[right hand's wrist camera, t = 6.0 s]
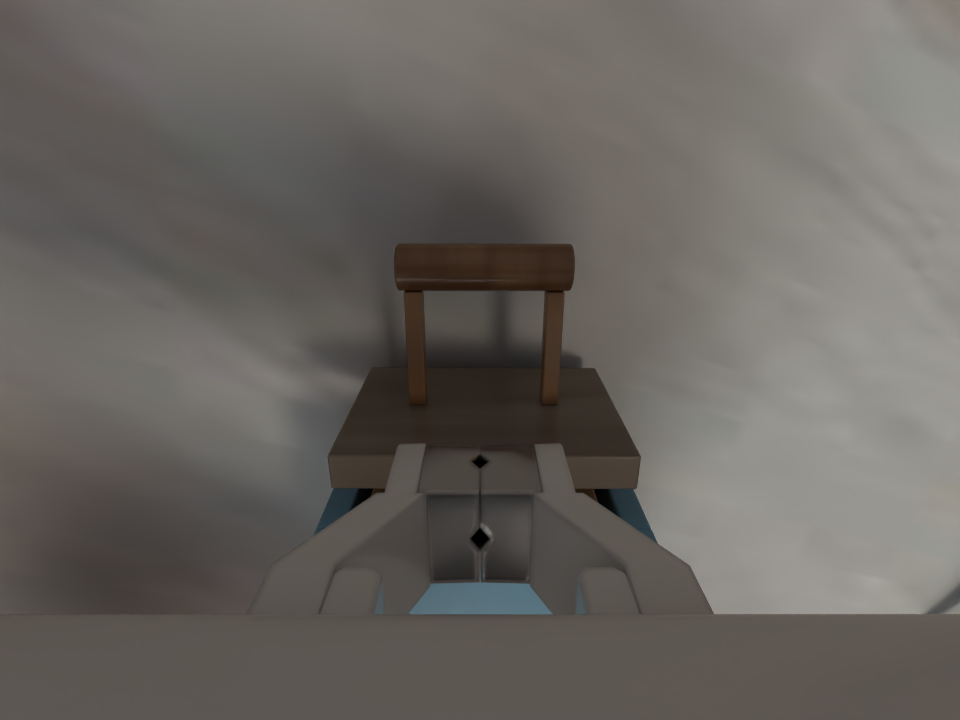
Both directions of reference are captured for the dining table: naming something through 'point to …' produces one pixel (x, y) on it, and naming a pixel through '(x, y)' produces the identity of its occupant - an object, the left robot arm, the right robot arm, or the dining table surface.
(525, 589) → the blue drawer cabinet
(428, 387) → the drawer
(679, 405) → the dining table surface
